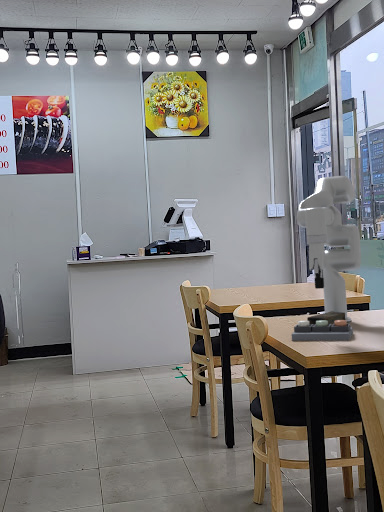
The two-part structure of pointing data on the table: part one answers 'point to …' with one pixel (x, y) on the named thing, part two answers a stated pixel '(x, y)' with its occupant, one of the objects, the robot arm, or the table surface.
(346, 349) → the table surface
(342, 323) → the terracotta button
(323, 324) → the sage button
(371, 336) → the table surface
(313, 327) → the button panel
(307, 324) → the cream button
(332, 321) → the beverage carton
